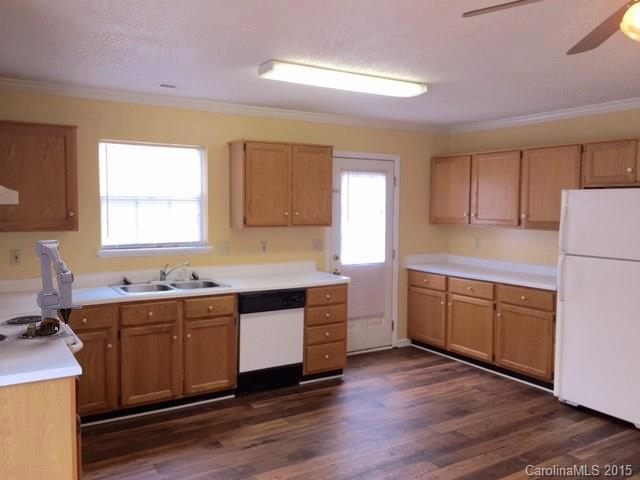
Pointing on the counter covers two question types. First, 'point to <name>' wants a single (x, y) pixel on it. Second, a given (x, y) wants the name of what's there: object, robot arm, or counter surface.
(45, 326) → the pottery mug
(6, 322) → the counter surface
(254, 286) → the counter surface
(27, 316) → the counter surface
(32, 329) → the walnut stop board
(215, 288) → the counter surface
